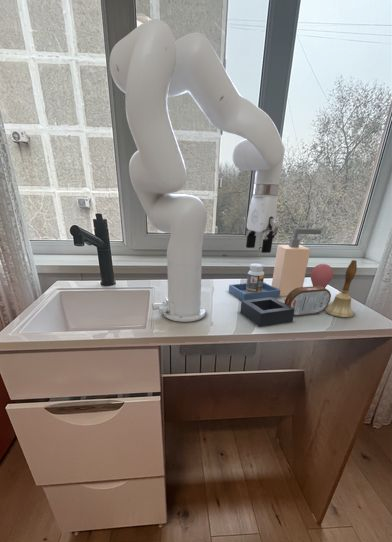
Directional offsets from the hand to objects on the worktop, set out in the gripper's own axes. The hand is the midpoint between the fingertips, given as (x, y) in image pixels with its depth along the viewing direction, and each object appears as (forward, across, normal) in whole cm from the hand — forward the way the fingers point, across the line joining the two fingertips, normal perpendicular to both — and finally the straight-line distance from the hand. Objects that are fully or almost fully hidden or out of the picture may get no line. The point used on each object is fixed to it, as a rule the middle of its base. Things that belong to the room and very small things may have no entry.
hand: (257, 249), depth 96 cm
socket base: (+16, +20, -7) cm, 26 cm away
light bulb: (+15, +11, +20) cm, 27 cm away
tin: (+16, +21, +6) cm, 27 cm away
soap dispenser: (+15, +2, +16) cm, 22 cm away
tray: (+16, 0, +1) cm, 16 cm away
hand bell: (+16, +24, +17) cm, 33 cm away
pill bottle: (+15, 0, +1) cm, 15 cm away
